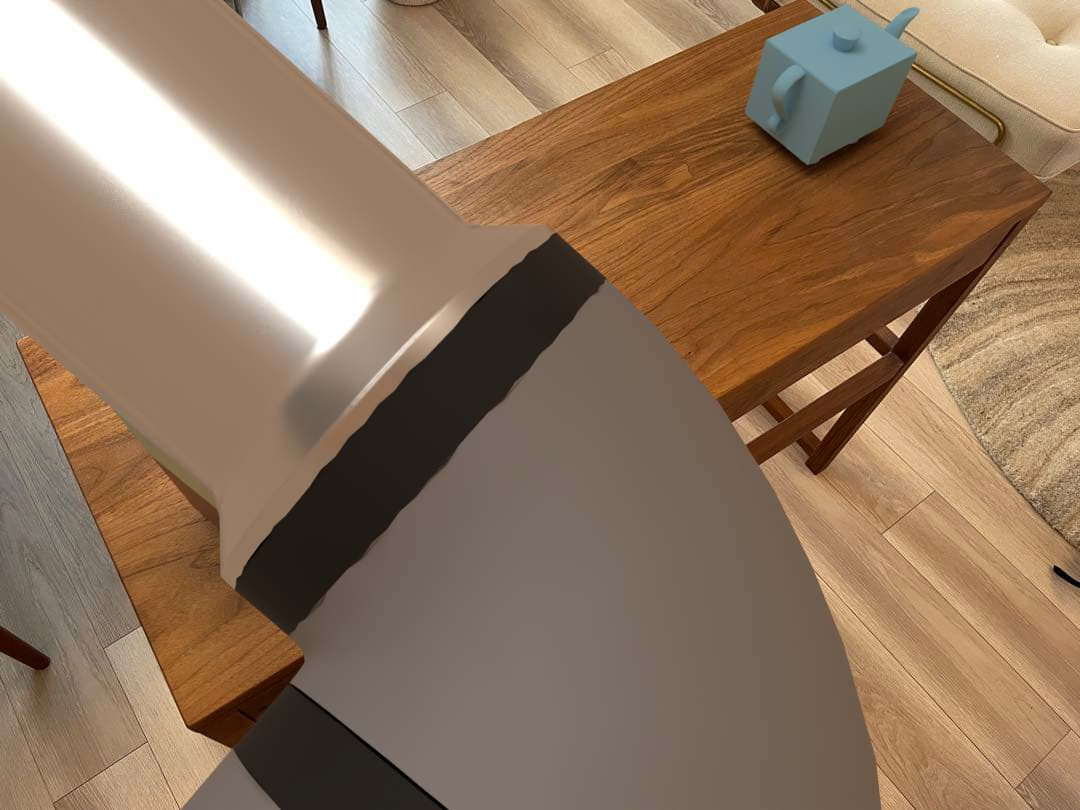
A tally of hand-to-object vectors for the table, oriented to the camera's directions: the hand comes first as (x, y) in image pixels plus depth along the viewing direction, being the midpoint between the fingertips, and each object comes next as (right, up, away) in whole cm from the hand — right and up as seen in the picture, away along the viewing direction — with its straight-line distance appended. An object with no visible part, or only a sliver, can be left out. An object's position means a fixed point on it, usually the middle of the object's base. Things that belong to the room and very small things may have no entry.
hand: (95, 185), depth 40 cm
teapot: (+58, +24, +61) cm, 87 cm away
